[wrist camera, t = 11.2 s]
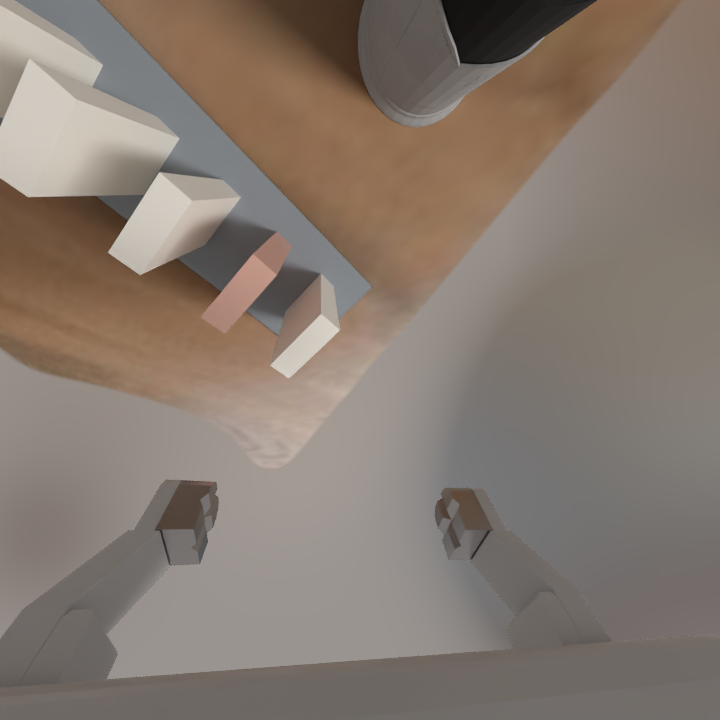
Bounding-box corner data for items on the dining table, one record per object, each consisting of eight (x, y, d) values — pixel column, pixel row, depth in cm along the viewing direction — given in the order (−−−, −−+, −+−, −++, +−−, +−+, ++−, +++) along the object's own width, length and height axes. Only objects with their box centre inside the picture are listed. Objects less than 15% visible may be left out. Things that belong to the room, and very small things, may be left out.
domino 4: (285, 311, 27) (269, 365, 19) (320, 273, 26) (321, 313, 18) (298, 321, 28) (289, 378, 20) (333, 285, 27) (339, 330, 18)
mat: (-19, 105, 18) (-26, 104, 18) (44, -55, 16) (38, -61, 15) (302, 352, 30) (302, 354, 30) (371, 285, 28) (372, 286, 27)
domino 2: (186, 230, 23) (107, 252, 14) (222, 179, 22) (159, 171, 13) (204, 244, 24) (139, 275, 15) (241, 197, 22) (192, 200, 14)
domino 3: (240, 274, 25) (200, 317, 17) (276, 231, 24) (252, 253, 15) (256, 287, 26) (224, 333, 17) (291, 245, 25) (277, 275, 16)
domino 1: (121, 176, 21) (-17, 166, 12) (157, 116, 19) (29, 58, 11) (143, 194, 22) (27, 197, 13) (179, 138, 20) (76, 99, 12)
